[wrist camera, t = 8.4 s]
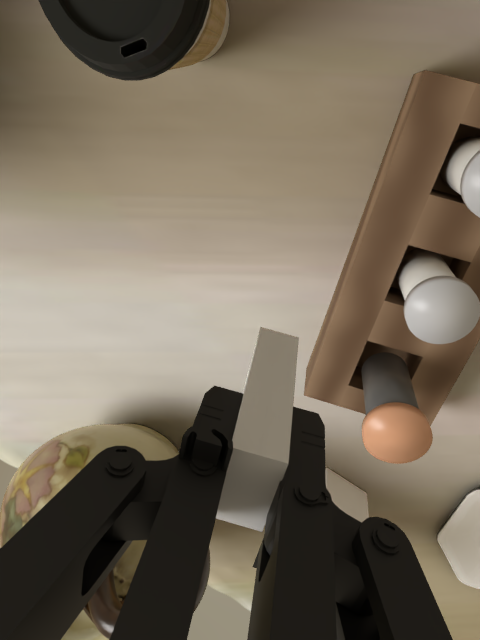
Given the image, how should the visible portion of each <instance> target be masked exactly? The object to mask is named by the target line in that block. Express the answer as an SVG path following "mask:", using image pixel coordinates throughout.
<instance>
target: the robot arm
mask: <svg viewBox="0 0 480 640" xmlns="http://www.w3.org/2000/svg"><path fill="white" fill-rule="evenodd" d="M298 339H299V338H298V337H295V336H291V335H287V334H284V333H280V332H276V331H273V330H269V329H266V328H262V327H261V328H260V331H259V335H258V338H257V342H256V345H255V349H254V353H253V356H252V360H251V363H250V367H249V370H248V374H247V377H246V381H245V384H244V388H243V392H242V393H239V392H235V391H232V390H228V389H224V388H221V387H217V386H214V387H213V388H211V389H210V390H209V391H207V392H206V393H205V395H204V398H203V400H202V403H201V406H200V408H199V411H198V414H197V416H196V419H195V422H194V424H193V427H191V428H189V429H187V431H186V432H185V434H184V435H183V439H182V443H181V448H180V452H179V454H178V455H176V456H175V457H173V458H170V459H167V460H158V461H153V460H145V458H144V456H143V455H142V454H141V453H140V452H139V451H138V450H136V449H134V448H131V447H128V446H113V447H109V448H106V449H104V450H103V451H101V452H100V453H98V454H97V455H96V456H95V457H94V458H93V459H92V460H91V461H90V462H89V463H88V464H87V465H86V466H85V467H84V468H83V469H82V470H81V471H80V472H79V473H78V474H77V475H76V476H75V477H74V478H73V479H72V480H70V481H69V482H68V483H67V484H66V485H65V486H64V487H63V488H62V489H61V490H60V491H59V492H58V493H57V494H56V495H55V496H54V497H53V498H52V499H51V500H50V501H49V502H48V503H47V504H46V505H45V506H44V507H43V508H42V509H41V510H40V511H39V512H37V513H36V514H35V515H34V516H33V517H32V518H31V519H30V520H29V521H28V522H27V523H26V524H25V525H24V526H23V527H22V528H21V529H20V530H19V531H18V532H17V533H16V534H15V535H14V536H13V537H12V538H11V539H10V540H9V541H8V542H7V543H6V544H5V545H3V546H2V547H1V548H0V640H61V639H62V637H63V636H64V634H65V633H66V632H67V630H68V629H69V628H70V626H71V625H72V624H73V622H74V621H75V619H76V618H77V617H78V615H79V614H80V613H81V611H82V610H83V608H84V607H85V606H86V604H87V603H88V602H89V600H90V599H91V598H92V596H93V595H94V593H95V592H96V591H97V589H98V588H99V587H100V585H101V584H102V583H103V581H104V580H105V578H106V577H107V576H108V574H109V573H110V572H111V570H112V569H113V568H114V566H115V565H116V563H117V562H118V561H119V559H120V558H121V557H122V555H123V554H124V552H125V551H126V550H127V548H128V547H129V546H130V544H131V543H132V541H135V540H147V542H146V545H145V547H144V550H143V552H142V555H141V558H140V560H139V563H138V566H137V568H136V571H135V574H134V576H133V579H132V581H131V584H130V587H129V589H128V592H127V595H126V597H125V600H124V603H123V605H122V608H121V610H120V613H119V616H118V618H117V621H116V624H115V626H114V629H113V632H112V634H111V637H110V639H109V640H187V636H188V632H189V628H190V623H191V619H192V615H193V611H194V607H195V603H196V598H197V594H198V590H199V586H200V582H201V577H202V573H203V569H204V565H205V561H206V556H207V552H208V548H209V544H210V540H211V535H212V531H213V527H214V523H215V519H219V520H223V521H226V522H230V523H233V524H236V525H240V526H243V527H247V528H250V529H254V530H257V531H260V532H262V531H263V529H264V526H265V524H266V526H265V534H264V539H263V541H262V544H261V547H260V549H259V552H258V554H257V557H256V559H255V562H254V565H253V567H254V568H257V571H256V579H255V586H254V594H253V601H252V609H251V617H250V624H249V632H248V639H247V640H453V639H452V637H451V635H450V632H449V630H448V628H447V626H446V623H445V621H444V619H443V616H442V614H441V612H440V609H439V607H438V605H437V603H436V600H435V598H434V596H433V593H432V591H431V589H430V587H429V584H428V582H427V580H426V577H425V575H424V573H423V571H422V568H421V566H420V564H419V561H418V559H417V557H416V555H415V552H414V550H413V548H412V545H411V543H410V541H409V540H408V538H407V536H406V535H405V533H404V532H403V531H402V530H401V529H400V528H399V527H398V526H397V525H395V524H394V523H392V522H390V521H388V520H387V519H383V518H379V517H370V518H367V519H366V520H364V521H363V522H360V521H358V520H356V519H355V518H353V517H351V516H350V515H348V514H346V513H345V512H343V511H342V510H341V509H339V508H338V507H337V506H336V505H335V504H334V503H333V501H332V498H331V494H330V493H329V491H328V490H327V488H326V478H325V450H324V449H325V440H324V438H325V426H324V424H323V422H322V420H321V418H320V416H319V414H317V413H314V412H310V411H307V410H303V409H300V408H296V407H293V401H294V389H295V376H296V364H297V352H298Z"/></svg>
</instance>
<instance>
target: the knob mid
mask: <svg viewBox="0 0 480 640" xmlns="http://www.w3.org/2000/svg"><path fill="white" fill-rule="evenodd" d="M396 278H397V280H398V283H399V286H400V289H401V291H402V294H403V297H404V300H405V303H404V317H405V320H406V323H407V325H408V328H409V329H410V331H411V332H412V333H413V334H414V335H415V336H416V337H417V338H419V339H420V340H422V341H425V342H427V343H432V344H447V343H452V342H455V341H457V340H459V339H461V338H463V337H465V336H466V335H467V334H469V333H470V332H471V331H472V330H473V328H474V327H475V326H476V324H477V322H478V320H479V317H480V302H479V299H478V297H477V295H476V294H475V293H474V291H473V290H472V289H471V287H470V286H469V285H468V284H467V283H466V282H464V281H463V280H461V279H459V278H456V277H455V275H454V274H453V273H452V271H451V270H450V268H449V267H448V265H447V264H446V263H445V261H444V260H443V258H442V257H441V256H440V254H438V253H436V252H432V251H428V250H425V249H421V248H416V249H413V250H411V251H409V252H407V253H406V254H404V256H403V258H402V261H401V263H400V265H399V268H398V270H397V272H396Z"/></svg>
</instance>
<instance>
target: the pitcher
mask: <svg viewBox="0 0 480 640" xmlns="http://www.w3.org/2000/svg"><path fill="white" fill-rule="evenodd" d="M113 446H128V447H131V448H134V449H136V450H138V451H139V452H140V453H141V454H142V455H143V456H144V458H145V460H153V461H158V460H167V459H170V458H173V457H175V456H176V455H178V454H179V452H178V450H177V449H176V447H175V446H174V445H173V444H172V443H171V442H170V441H169V440H168V439H167V438H166V437H164V436H163V435H161V434H160V433H158V432H156V431H155V430H153V429H150V428H148V427H145V426H142V425H138V424H117V425H114V424H102V425H92V426H86V427H81V428H77V429H74V430H71V431H68V432H66V433H63V434H61V435H59V436H57V437H55V438H53V439H51V440H49V441H48V442H46V443H45V444H43V445H42V446H40V447H39V448H38V449H37V450H35V451H34V452H33V453H32V454H31V455H30V456H29V457H28V458H27V459H26V460H25V461H24V462H23V463H22V465H21V466H20V467H19V468H18V470H17V471H16V473H15V475H14V476H13V478H12V479H11V481H10V484H9V485H8V487H7V490H6V493H5V495H4V498H3V502H2V506H1V512H0V546H1V547H2V546H3V545H5V544H6V543H7V542H8V541H9V540H10V539H11V538H12V537H13V536H14V535H15V534H16V533H17V532H18V531H19V530H20V529H21V528H22V527H23V526H24V525H25V524H26V523H27V522H28V521H29V520H30V519H31V518H32V517H33V516H34V515H35V514H36V513H37V512H39V511H40V510H41V509H42V508H43V507H44V506H45V505H46V504H47V503H48V502H49V501H50V500H51V499H52V498H53V497H54V496H55V495H56V494H57V493H58V492H59V491H60V490H61V489H62V488H63V487H64V486H65V485H66V484H67V483H68V482H69V481H70V480H72V479H73V478H74V477H75V476H76V475H77V474H78V473H79V472H80V471H81V470H82V469H83V468H84V467H85V466H86V465H87V464H88V463H89V462H90V461H91V460H92V459H93V458H94V457H95V456H96V455H97V454H98V453H100V452H101V451H103V450H104V449H106V448H109V447H113ZM146 542H147V540H135V541H132V543H131V544H130V546H129V547H128V548H127V550H126V551H125V552H124V554H123V555H122V557H121V558H120V559H119V561H118V562H117V563H116V565H115V566H114V568H113V569H112V570H111V572H110V573H109V574H108V576H107V577H106V578H105V580H104V581H103V583H102V584H101V585H100V587H99V588H98V589H97V591H96V592H95V593H94V595H93V596H92V598H91V599H90V600H89V602H88V603H87V604H86V606H85V607H84V608H83V610H82V611H81V613H80V614H79V615H78V617H77V618H76V619H75V621H74V622H73V624H72V625H71V626H70V628H69V629H68V630H67V632H66V633H65V634H64V636H63V637H62V639H61V640H109V639H110V637H111V634H112V632H113V629H114V626H115V624H116V621H117V618H118V616H119V613H120V610H121V608H122V605H123V603H124V600H125V597H126V595H127V592H128V589H129V587H130V584H131V581H132V579H133V576H134V574H135V571H136V568H137V566H138V563H139V560H140V558H141V555H142V552H143V550H144V547H145V545H146ZM209 572H210V550H209V548H208V552H207V556H206V561H205V565H204V569H203V573H202V577H201V582H200V586H199V590H198V594H197V598H196V603H195V607H194V611H195V610H196V608H197V606H198V604H199V603H200V601H201V599H202V597H203V595H204V592H205V589H206V586H207V582H208V578H209ZM194 611H193V613H194Z"/></svg>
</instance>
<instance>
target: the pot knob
mask: <svg viewBox="0 0 480 640" xmlns="http://www.w3.org/2000/svg"><path fill="white" fill-rule="evenodd" d="M361 373H362V382H363V392H364V402H365V411H366V416H365V418H364V420H363V423H362V436H363V443H364V445H365V447H366V449H367V450H368V452H369V453H370V454H372V455H373V456H374V457H376V458H377V459H379V460H382V461H384V462H388V463H397V464H399V463H407V462H411V461H414V460H416V459H418V458H420V457H422V456H423V455H424V454H425V453H426V452H427V451H428V450H429V448H430V446H431V444H432V438H433V437H432V431H431V428H430V424H429V421H428V419H427V417H426V416H425V415H424V413H423V412H422V411H420V410H419V407H418V403H417V400H416V396H415V393H414V389H413V385H412V382H411V378H410V375H409V371H408V368H407V365H406V363H405V361H404V360H403V359H402V358H401V357H399V356H398V355H396V354H393V353H387V352H383V353H377V354H374V355H372V356H371V357H369V358H368V359H367V360H366V361H365V362H364V364H363V366H362V371H361Z"/></svg>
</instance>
